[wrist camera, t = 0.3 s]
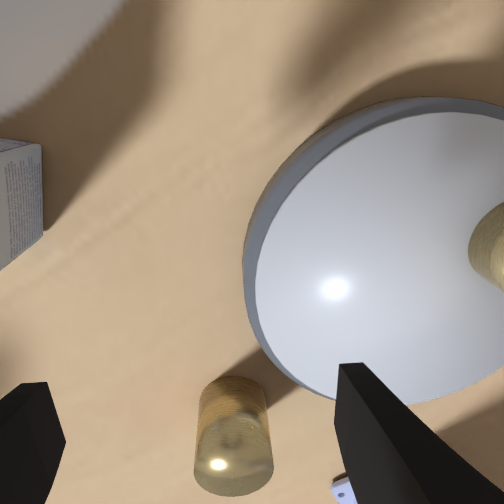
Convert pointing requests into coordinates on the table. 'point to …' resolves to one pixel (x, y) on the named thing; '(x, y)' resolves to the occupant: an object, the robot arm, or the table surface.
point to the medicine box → (19, 198)
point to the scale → (381, 250)
